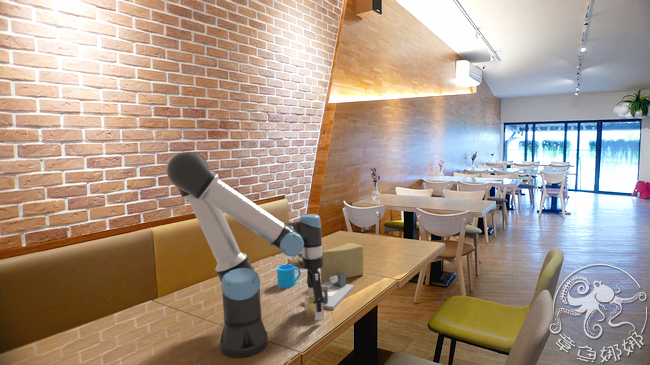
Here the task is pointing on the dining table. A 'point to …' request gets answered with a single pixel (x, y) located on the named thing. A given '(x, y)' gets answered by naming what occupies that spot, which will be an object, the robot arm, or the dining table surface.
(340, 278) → the shaft right
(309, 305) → the block
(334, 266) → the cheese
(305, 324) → the dining table surface
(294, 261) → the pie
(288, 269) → the mug
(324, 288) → the shaft left
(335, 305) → the grey base plate
